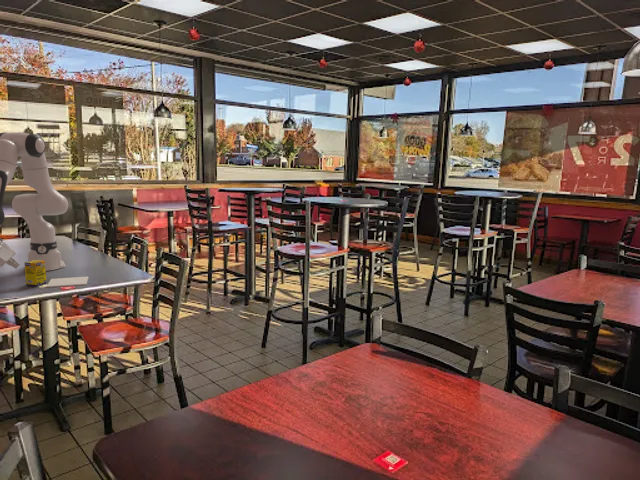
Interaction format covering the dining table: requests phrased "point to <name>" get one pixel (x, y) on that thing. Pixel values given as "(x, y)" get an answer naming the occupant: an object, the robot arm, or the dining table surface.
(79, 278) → the mat
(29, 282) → the supplement box
